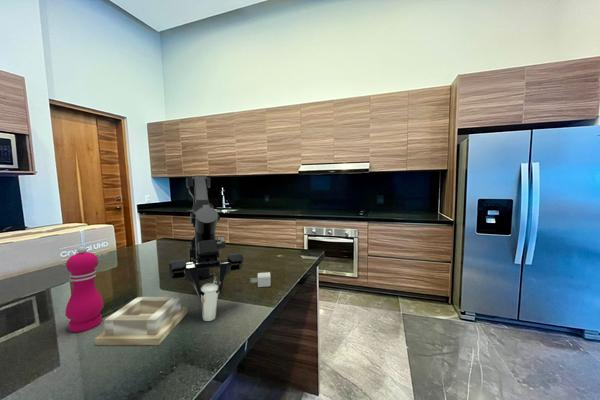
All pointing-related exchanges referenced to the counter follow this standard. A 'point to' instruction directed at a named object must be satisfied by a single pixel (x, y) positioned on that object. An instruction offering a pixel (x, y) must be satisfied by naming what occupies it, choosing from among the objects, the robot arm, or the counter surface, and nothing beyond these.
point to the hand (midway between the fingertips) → (210, 295)
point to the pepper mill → (83, 292)
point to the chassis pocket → (142, 322)
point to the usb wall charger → (262, 279)
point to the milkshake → (209, 300)
